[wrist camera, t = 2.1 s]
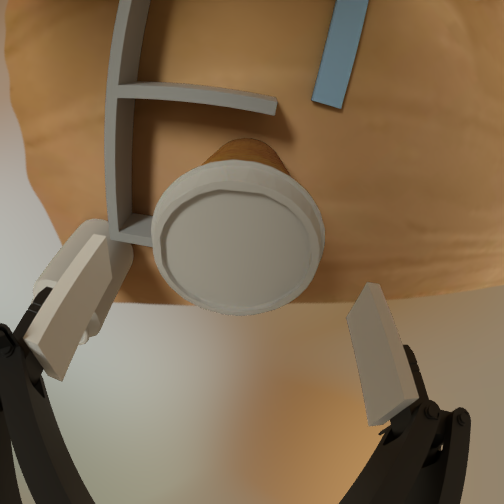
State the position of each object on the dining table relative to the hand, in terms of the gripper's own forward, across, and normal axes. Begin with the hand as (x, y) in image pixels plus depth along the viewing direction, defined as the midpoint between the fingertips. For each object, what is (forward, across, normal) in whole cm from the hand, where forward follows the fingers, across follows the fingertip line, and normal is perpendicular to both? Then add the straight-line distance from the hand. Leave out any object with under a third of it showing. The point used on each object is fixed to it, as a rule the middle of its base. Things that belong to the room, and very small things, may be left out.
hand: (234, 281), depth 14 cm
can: (+13, -14, -10) cm, 22 cm away
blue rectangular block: (+13, +5, +14) cm, 19 cm away
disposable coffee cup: (+13, 0, 0) cm, 13 cm away
